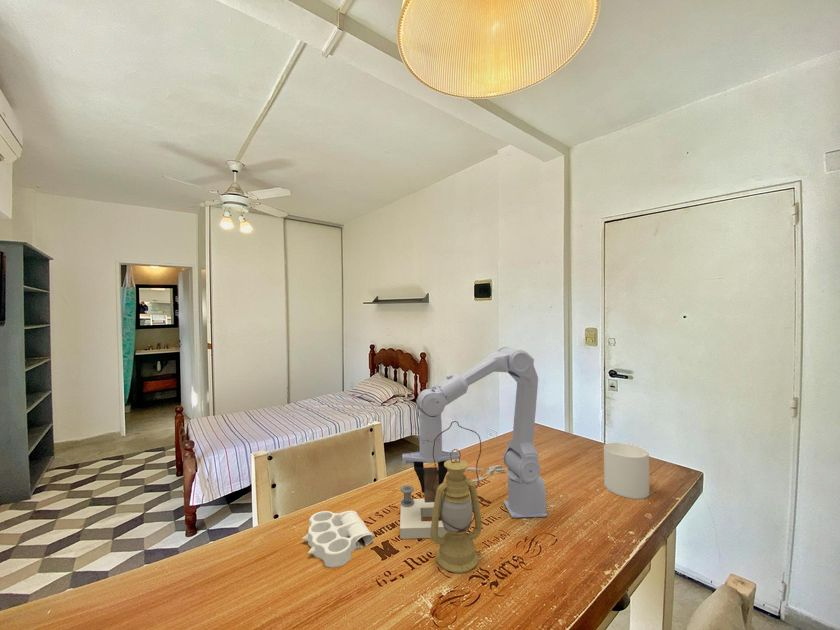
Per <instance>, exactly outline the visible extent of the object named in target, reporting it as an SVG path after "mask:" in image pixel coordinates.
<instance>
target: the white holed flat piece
mask: <svg viewBox="0 0 840 630" xmlns="http://www.w3.org/2000/svg"><path fill="white" fill-rule="evenodd" d="M361 538H362V540H363V542H364V544H365V547H366V546H369V545H370V544H372V542H373V541H374V538H375V537H374V534H373V532H371V531H370V530H369V528H368V527H367V526H366V523H365V522H364V521H363V520H362V519H361V517H360V516H359V514H358V512H357V511H355V510H345V511H342V512H338V513H337V512H335V513H334V512H332V511H329V510H322V511H318V512H315V513H314V514H312V515H311V516H310V517H309V519H308V530H307V534H306V535H304V536H303V537H301V540H304V541H306V542H307V545H308V546H309V547H311V548H310V549H309V551H308V552H307V553H306V554H309V555H313V556H314V557H315V558H318V559H321V560H322V562H323V563H324V566H325V567H328V568H338V567H339V568H340V567H341V566H344V565H346V564H347V563H348V562H349V561H350V560H351V558H352V553H353V552H354V550H358V549H359V548H364V546H363V544H361V543H360V542H359V540H360V539H361Z"/></svg>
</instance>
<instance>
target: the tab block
mask: <svg viewBox="0 0 840 630" xmlns="http://www.w3.org/2000/svg"><path fill="white" fill-rule="evenodd" d="M434 478H435V466H433V467H432V466H431V467H430V466H429V467H428V466H427V467H424V488H425V493H423V499H424V500H425V503H427V502H435V494H436V490H437V488H438V486H439V473H438V466H436V478H435V481H434ZM433 481H434V485H433ZM432 486H433V490H434V492H435V494H434V492H433V490H432Z"/></svg>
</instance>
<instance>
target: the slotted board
mask: <svg viewBox="0 0 840 630" xmlns="http://www.w3.org/2000/svg"><path fill="white" fill-rule="evenodd" d="M414 490H415V487H414V486H413V485H409V484H406V485H403V486H401V487H400V492H401V493H403V499H400V512H399V513H400V521H399V540H400V539H401V540H406V539H408V540H409V539H411V540H412V539H432V538H431V522H432V520H428V521H422V518H432V514H433V508H434V502H427V503H425V500H424V498H412V493H413V492H414ZM439 518H441V516H440V515H439ZM446 533H447V531H446V530H445V528H444V526H443V523H442V521H441V520H439V523H438V536H439V537H443V536H444V535H445V534H446Z"/></svg>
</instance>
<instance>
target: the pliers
mask: <svg viewBox="0 0 840 630" xmlns="http://www.w3.org/2000/svg"><path fill="white" fill-rule="evenodd" d="M502 467H503V466H502V465H501V464H498V465H497V464H496V465H492V466H491V465H490V466H488V469H489V470H487V472H485V474H489V475H490V474H491V473H493V472H494V471H495V469H496V472H502V471H503V472H504V471H505V472H506V468H502ZM477 468H478V469H477V470H479V468H480V467H477ZM498 468H502V469H498ZM466 469H471V470H473V469H474V470H473V471H472V472H474V471H476V470H475V469H476V467H467V468H466ZM466 469H465V471H467V470H466ZM480 469H482V470H483V469H484V468H480ZM471 470H470V471H471ZM477 472H479V471H477ZM481 474H482V473H479V474H478V478H479V482H481V481H480V480H482V481H484V480H483V479H482V477H483V476H482V475H481ZM480 476H481V477H480ZM490 476H491V475H490ZM478 478H476V479H471V480H472V481H473V482H474V483H476V482H475V481H478ZM483 478H484V477H483ZM484 479H485V478H484ZM485 480H486V479H485Z"/></svg>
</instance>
